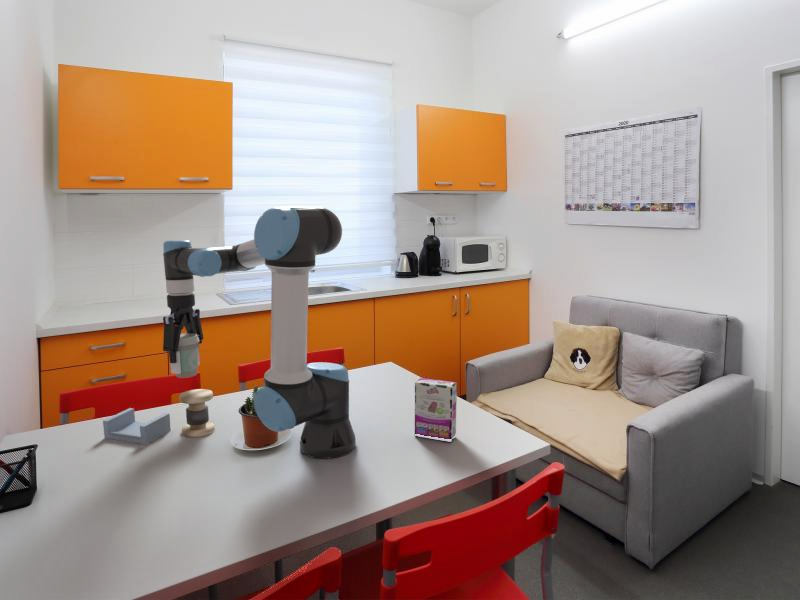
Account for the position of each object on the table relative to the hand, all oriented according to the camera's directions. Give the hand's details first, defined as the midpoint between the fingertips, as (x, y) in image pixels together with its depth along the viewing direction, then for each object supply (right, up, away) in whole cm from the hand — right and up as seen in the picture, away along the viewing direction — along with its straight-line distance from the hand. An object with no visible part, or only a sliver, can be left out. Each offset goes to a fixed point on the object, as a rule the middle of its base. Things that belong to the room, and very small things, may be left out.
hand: (185, 368), depth 162 cm
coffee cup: (0, -2, +1) cm, 2 cm away
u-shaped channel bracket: (-11, -18, -6) cm, 22 cm away
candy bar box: (+74, -19, -6) cm, 76 cm away
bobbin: (+5, -18, -3) cm, 19 cm away
